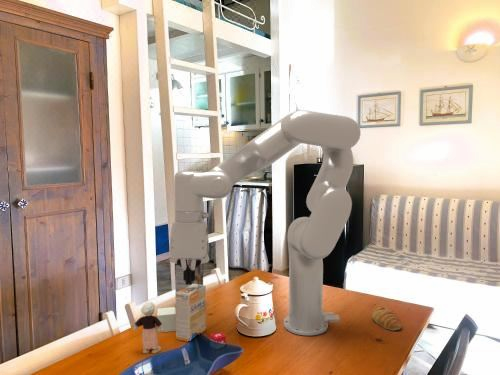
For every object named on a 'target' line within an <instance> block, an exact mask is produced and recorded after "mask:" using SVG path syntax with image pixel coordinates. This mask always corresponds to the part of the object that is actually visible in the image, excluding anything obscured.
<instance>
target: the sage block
mask: <svg viewBox="0 0 500 375" xmlns="http://www.w3.org/2000/svg"><path fill="white" fill-rule="evenodd" d="M156 314H157V316H156V317H157V318H158V319H159V320H160V322H161V323H162V326H163V329H164V332H163V333H167V332H176V306H172V307H171V306H170V307H160V308H157V313H156ZM159 333H161V332H160V329H159V328H158V327H157V334H159Z"/></svg>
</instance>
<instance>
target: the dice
mask: <svg viewBox="0 0 500 375" xmlns="http://www.w3.org/2000/svg"><path fill="white" fill-rule="evenodd" d="M226 337H227V336H226V334H224V333H222V332H221V331H216V332H214V333H211V334H209V340H210V339H212V340H214V341H217V342H221V343H226V342H227V338H226ZM226 344H227V343H226Z"/></svg>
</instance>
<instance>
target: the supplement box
mask: <svg viewBox="0 0 500 375" xmlns="http://www.w3.org/2000/svg"><path fill="white" fill-rule="evenodd" d="M206 292H207V290H206V285H204V284H203V285H198V284H192V285H189V286H187V287H185V288H183V289H181V290H180V291H178V292H176V291H175V293H174V294H175V297H174V298H175V315H176V331H175V336H176V337H175V339H176V340H178V341H182V342H187V343H189V342H188V340H189V338H190V336H191V334H192V333H195V332H198V333H201V334H202V333H204V332H205V331H206V329H207V318H206V316H207V315H206V314H207V312H206V310H207V309H206V308H207V307H206V303H207V302H206V301H207V299H206V297H207V296H206Z"/></svg>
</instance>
